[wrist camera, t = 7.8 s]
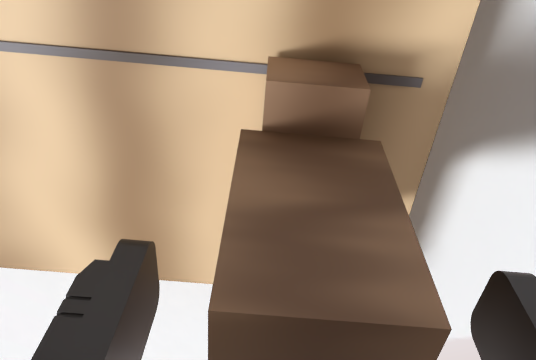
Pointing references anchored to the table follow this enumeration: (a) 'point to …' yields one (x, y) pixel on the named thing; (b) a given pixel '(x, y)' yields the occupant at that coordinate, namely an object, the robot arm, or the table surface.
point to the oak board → (187, 112)
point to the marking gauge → (319, 234)
